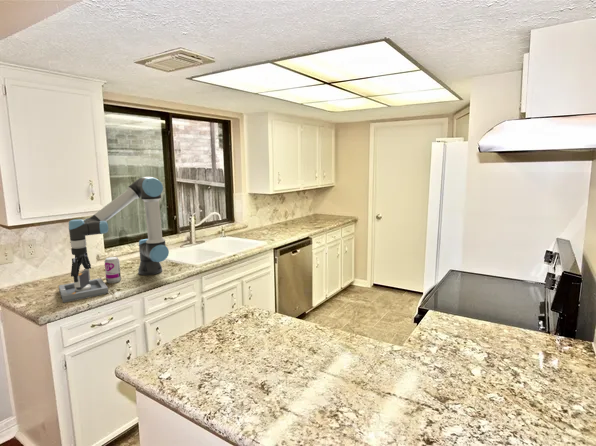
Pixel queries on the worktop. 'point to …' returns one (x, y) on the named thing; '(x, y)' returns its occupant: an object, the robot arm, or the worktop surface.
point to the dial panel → (70, 295)
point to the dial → (83, 282)
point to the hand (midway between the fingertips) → (82, 283)
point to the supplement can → (112, 269)
